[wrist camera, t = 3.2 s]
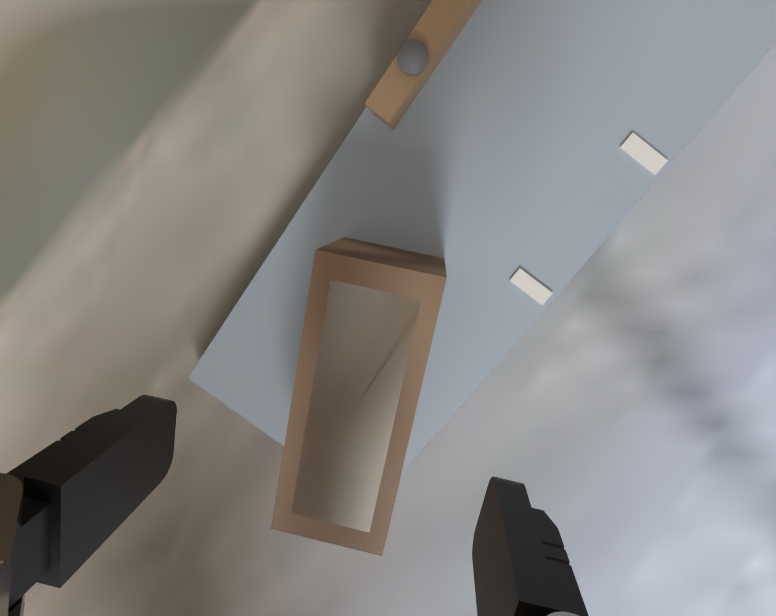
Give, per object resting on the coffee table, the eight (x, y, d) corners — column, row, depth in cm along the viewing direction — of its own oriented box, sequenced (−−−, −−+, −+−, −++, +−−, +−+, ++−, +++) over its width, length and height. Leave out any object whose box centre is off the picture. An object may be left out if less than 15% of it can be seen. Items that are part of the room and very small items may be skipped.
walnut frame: (444, 258, 18) (446, 277, 14) (393, 480, 21) (382, 555, 16) (344, 237, 18) (315, 249, 14) (305, 458, 21) (271, 528, 16)
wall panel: (774, 28, 16) (854, -12, 13) (374, 492, 22) (364, 539, 19) (550, -159, 16) (578, -246, 13) (200, 368, 22) (161, 397, 19)
